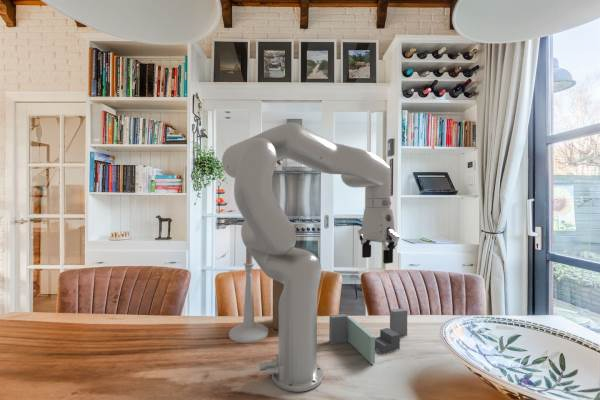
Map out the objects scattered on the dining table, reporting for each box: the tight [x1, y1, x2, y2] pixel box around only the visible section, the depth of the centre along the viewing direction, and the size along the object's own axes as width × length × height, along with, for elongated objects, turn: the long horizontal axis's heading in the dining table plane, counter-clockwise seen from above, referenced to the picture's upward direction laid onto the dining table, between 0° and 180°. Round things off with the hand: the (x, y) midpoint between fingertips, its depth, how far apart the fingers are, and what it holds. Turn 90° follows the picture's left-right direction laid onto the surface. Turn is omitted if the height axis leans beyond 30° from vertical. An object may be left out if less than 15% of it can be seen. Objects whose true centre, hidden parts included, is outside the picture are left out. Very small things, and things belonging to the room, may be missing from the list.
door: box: [346, 315, 376, 365], centre depth 87 cm, size 15×1×7 cm, turn 17°
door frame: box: [328, 307, 408, 345], centre depth 96 cm, size 26×2×8 cm, turn 104°
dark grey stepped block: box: [375, 327, 401, 354], centre depth 90 cm, size 6×5×4 cm
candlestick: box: [228, 247, 269, 344], centre depth 98 cm, size 13×13×30 cm
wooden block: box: [272, 279, 284, 330], centre depth 106 cm, size 10×10×20 cm
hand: (376, 260), depth 93 cm, fingers open, 9 cm apart
